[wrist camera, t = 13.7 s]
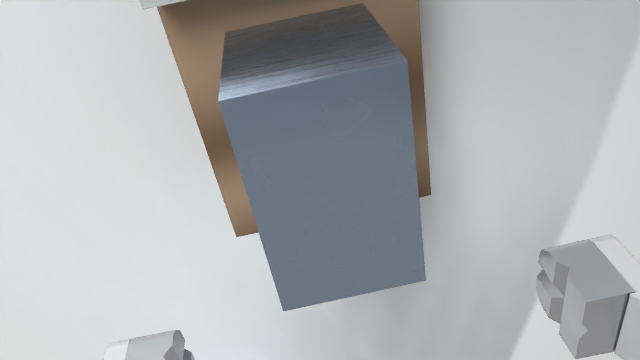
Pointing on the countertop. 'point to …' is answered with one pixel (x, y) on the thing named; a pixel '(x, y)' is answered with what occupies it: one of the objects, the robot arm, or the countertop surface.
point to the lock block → (326, 152)
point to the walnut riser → (255, 9)
